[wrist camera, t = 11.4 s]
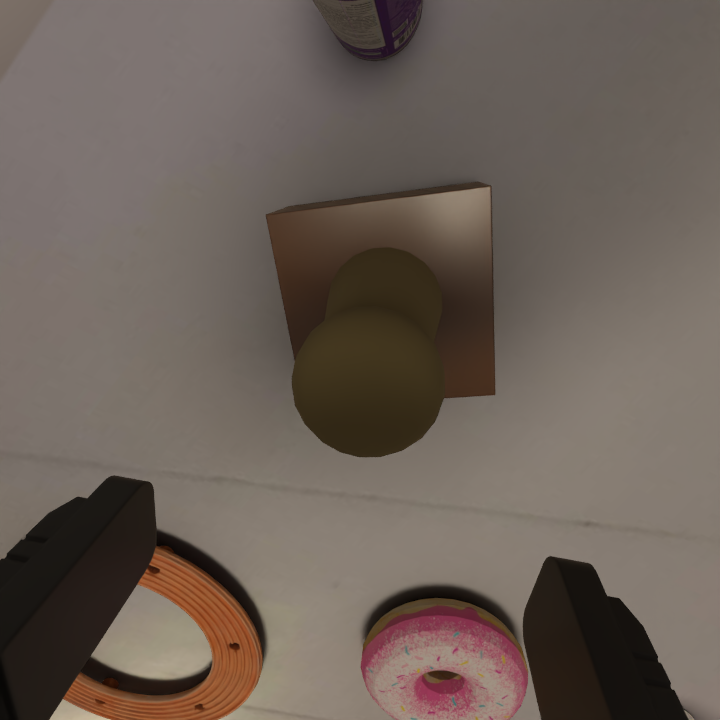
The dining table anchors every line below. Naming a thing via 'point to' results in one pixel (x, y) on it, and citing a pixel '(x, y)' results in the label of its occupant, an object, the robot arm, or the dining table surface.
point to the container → (372, 25)
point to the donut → (444, 663)
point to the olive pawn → (373, 357)
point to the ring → (226, 639)
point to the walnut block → (408, 233)
